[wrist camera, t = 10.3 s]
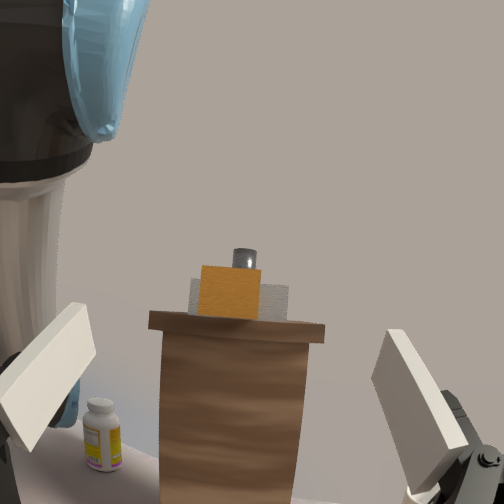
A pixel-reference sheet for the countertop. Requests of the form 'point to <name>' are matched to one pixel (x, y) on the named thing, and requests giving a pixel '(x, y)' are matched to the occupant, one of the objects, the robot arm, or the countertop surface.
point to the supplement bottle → (102, 435)
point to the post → (230, 407)
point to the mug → (420, 496)
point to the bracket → (237, 292)
